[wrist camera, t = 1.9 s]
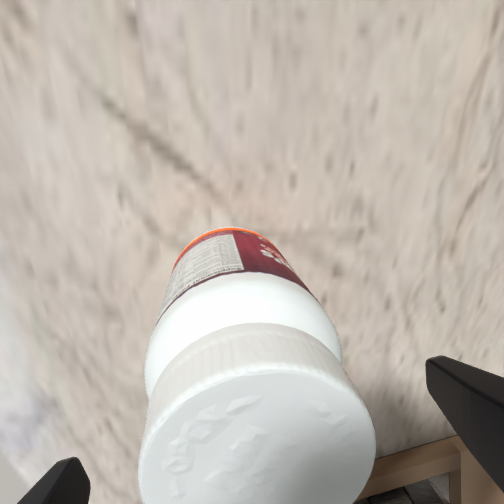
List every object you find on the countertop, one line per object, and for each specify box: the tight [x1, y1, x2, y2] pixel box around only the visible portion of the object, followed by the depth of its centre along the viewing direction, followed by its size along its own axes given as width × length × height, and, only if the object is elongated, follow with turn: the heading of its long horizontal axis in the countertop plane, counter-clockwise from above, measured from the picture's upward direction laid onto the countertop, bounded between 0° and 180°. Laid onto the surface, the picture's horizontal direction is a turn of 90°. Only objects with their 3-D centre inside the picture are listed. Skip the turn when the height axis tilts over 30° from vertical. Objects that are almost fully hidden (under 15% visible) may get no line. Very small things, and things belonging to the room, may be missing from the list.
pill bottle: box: [138, 227, 376, 504], centre depth 12 cm, size 6×6×11 cm
